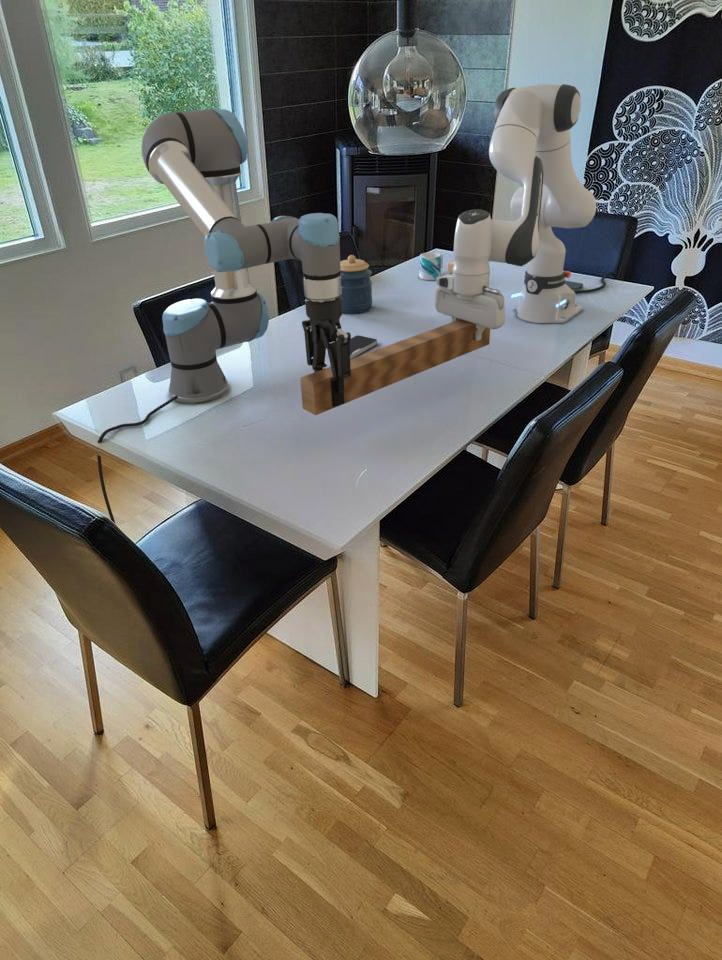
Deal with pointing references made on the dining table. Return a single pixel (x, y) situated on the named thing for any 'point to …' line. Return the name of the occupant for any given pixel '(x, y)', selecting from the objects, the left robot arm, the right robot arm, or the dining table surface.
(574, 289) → the smartphone
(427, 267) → the mug
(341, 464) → the dining table surface
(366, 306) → the canister
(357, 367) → the post
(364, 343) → the smartphone
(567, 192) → the right robot arm
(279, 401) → the dining table surface
